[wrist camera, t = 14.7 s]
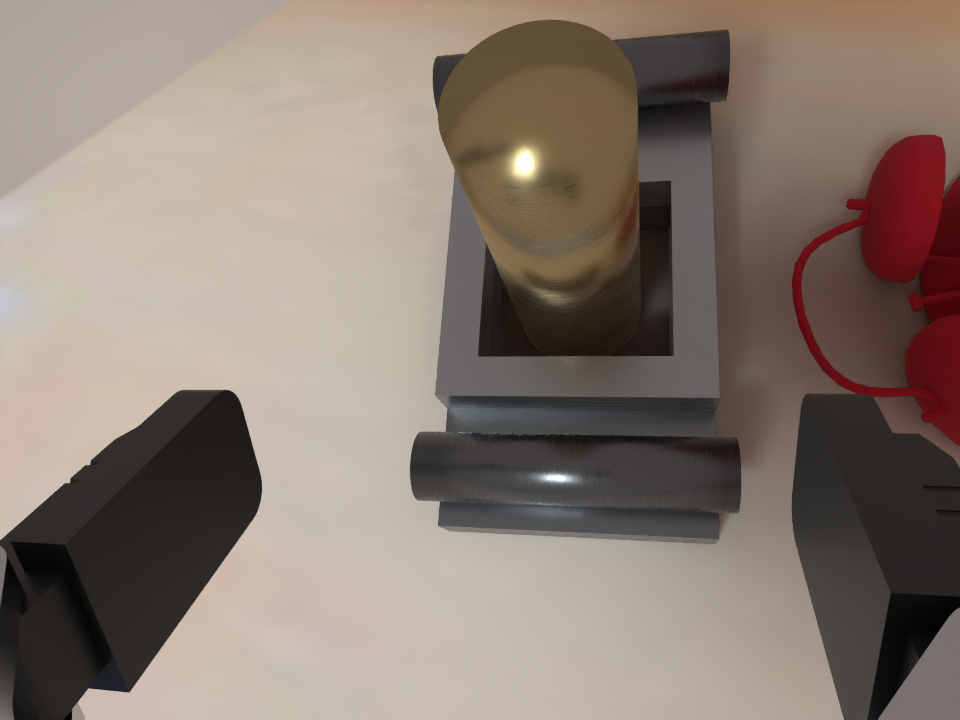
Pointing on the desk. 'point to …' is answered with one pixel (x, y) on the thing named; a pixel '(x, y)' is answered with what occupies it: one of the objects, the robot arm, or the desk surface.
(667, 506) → the grey roller frame base
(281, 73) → the desk surface
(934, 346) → the alarm clock
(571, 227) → the bronze pin
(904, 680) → the robot arm
